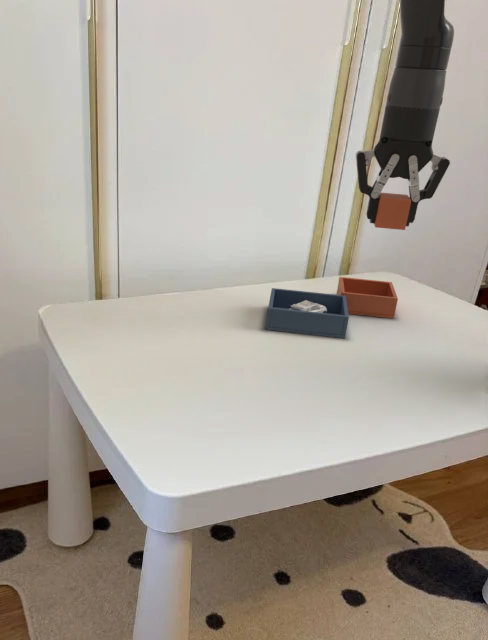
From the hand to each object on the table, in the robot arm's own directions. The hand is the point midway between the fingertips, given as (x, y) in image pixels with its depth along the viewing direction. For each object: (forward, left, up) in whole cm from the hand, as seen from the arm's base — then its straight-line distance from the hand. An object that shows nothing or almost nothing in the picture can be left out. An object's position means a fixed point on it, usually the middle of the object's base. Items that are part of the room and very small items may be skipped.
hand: (388, 223), depth 99 cm
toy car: (+11, +6, -15) cm, 19 cm away
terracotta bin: (+1, -4, -15) cm, 16 cm away
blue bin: (+11, +7, -15) cm, 20 cm away
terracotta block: (0, 0, 0) cm, 0 cm away
